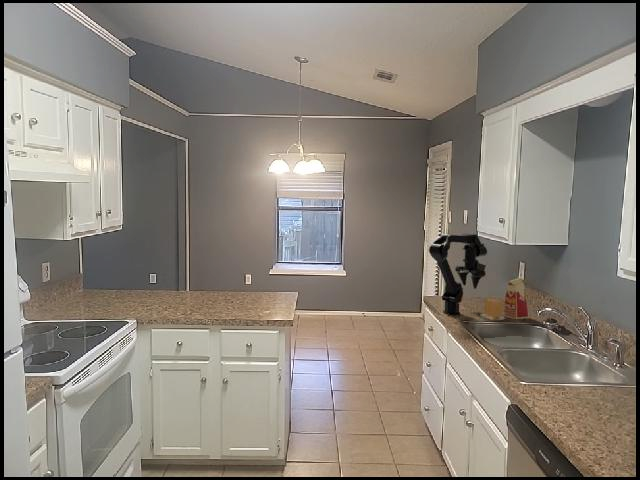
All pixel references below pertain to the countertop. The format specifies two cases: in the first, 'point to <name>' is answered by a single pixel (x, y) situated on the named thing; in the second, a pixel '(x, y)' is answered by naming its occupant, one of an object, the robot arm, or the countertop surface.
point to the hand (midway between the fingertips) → (469, 286)
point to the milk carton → (516, 300)
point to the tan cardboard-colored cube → (492, 307)
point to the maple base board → (493, 317)
